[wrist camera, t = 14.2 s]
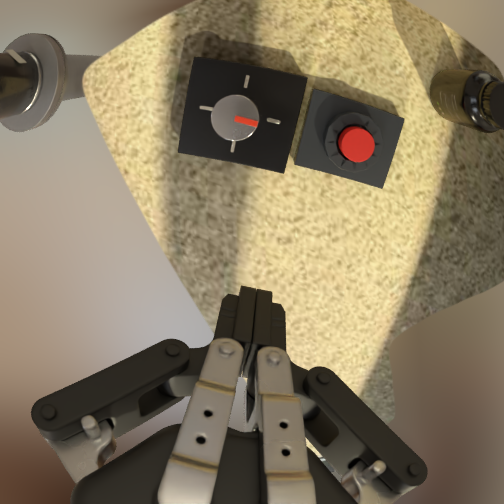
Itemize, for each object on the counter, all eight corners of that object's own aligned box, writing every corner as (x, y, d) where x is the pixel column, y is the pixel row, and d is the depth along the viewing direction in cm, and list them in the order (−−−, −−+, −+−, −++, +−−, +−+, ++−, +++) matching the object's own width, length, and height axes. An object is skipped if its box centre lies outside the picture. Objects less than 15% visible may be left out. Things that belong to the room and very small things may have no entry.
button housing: (293, 161, 36) (295, 168, 33) (311, 88, 32) (315, 88, 29) (378, 184, 37) (387, 194, 34) (399, 117, 32) (410, 120, 29)
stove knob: (214, 128, 32) (205, 134, 28) (224, 89, 30) (216, 89, 26) (254, 138, 32) (251, 146, 28) (265, 100, 30) (264, 102, 26)
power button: (334, 153, 32) (337, 156, 31) (343, 122, 30) (346, 124, 29) (364, 162, 32) (369, 166, 31) (373, 132, 31) (378, 134, 29)
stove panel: (184, 147, 36) (177, 153, 33) (200, 58, 31) (193, 56, 28) (283, 167, 37) (284, 174, 34) (305, 78, 31) (308, 77, 28)
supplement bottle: (454, 60, 27) (513, 61, 17) (478, 106, 30) (537, 123, 19) (417, 83, 30) (471, 88, 19) (443, 130, 32) (498, 153, 22)
